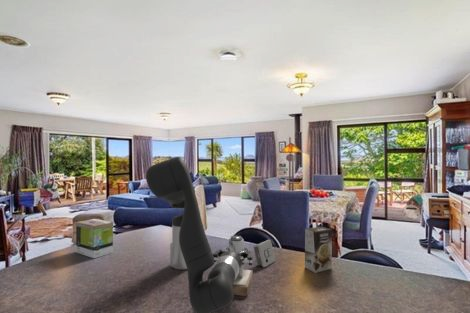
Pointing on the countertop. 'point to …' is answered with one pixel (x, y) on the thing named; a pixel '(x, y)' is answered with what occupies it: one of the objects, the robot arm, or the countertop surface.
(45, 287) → the countertop surface
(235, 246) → the cylinder
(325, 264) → the coffee box
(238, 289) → the plinth
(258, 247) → the electrical switch
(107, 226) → the tea box
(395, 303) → the countertop surface
